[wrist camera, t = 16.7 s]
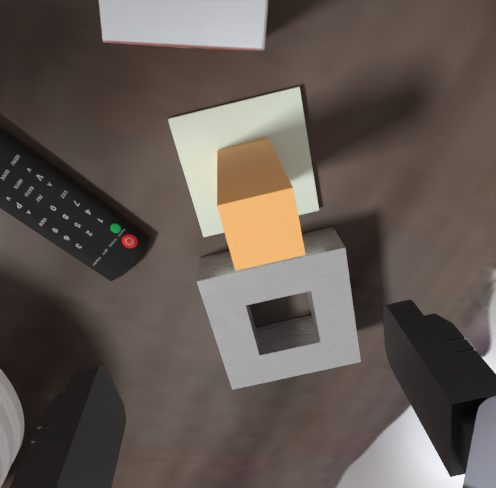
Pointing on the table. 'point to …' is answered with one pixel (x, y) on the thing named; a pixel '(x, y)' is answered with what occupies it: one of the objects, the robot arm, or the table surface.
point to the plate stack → (9, 425)
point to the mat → (240, 132)
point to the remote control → (66, 211)
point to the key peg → (257, 205)
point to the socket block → (287, 332)
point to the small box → (186, 23)
